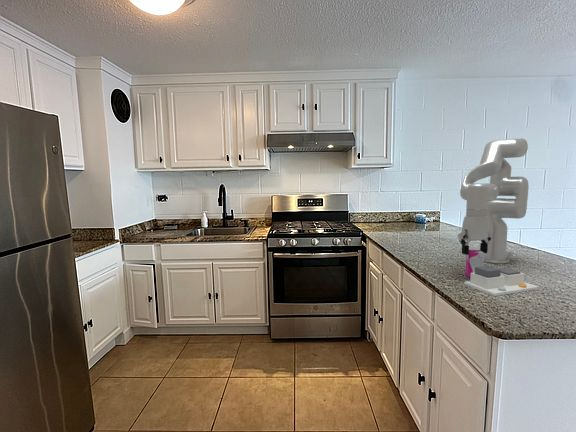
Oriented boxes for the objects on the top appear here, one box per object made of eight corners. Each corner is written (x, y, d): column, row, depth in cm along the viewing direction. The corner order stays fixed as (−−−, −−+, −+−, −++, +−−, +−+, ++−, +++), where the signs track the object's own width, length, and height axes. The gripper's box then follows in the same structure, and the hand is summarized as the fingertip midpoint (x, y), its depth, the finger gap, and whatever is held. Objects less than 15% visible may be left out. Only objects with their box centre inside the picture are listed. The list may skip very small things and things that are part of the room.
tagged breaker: (505, 277, 132) (506, 267, 131) (519, 281, 126) (520, 271, 125) (494, 279, 130) (494, 269, 130) (508, 283, 124) (508, 273, 124)
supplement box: (480, 275, 140) (481, 249, 138) (483, 279, 134) (484, 252, 133) (465, 274, 142) (466, 249, 140) (467, 278, 136) (468, 252, 135)
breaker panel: (505, 278, 135) (505, 266, 134) (538, 289, 121) (539, 276, 121) (464, 284, 129) (464, 272, 129) (494, 296, 116) (495, 282, 115)
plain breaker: (486, 275, 129) (487, 265, 128) (500, 279, 123) (500, 269, 123) (474, 276, 127) (474, 267, 127) (487, 281, 121) (488, 271, 121)
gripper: (485, 212, 140) (483, 250, 142) (452, 213, 136) (451, 253, 138) (500, 213, 133) (498, 253, 135) (466, 215, 129) (464, 256, 130)
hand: (474, 253), depth 136 cm, fingers open, 9 cm apart
